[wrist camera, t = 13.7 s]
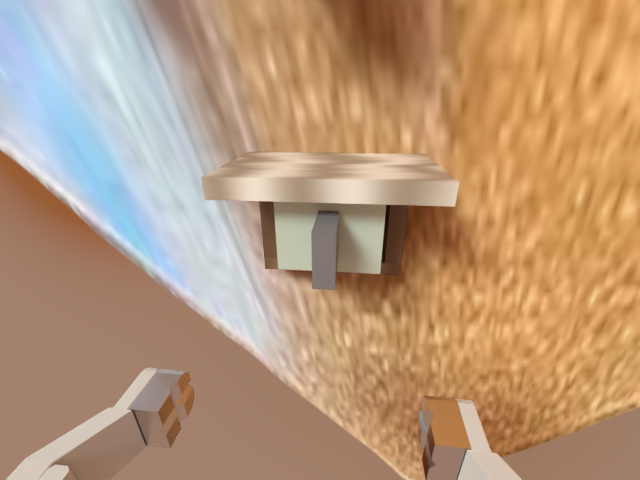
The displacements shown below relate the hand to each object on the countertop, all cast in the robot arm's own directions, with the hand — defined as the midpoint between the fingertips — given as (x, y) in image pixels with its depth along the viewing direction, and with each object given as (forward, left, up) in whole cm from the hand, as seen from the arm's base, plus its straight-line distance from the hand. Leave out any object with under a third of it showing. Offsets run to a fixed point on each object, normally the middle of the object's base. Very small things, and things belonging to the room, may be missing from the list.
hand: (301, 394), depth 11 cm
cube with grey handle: (0, 0, -22) cm, 22 cm away
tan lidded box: (0, +1, -22) cm, 22 cm away
